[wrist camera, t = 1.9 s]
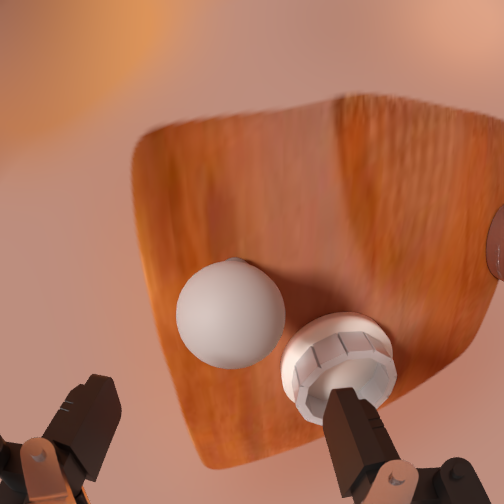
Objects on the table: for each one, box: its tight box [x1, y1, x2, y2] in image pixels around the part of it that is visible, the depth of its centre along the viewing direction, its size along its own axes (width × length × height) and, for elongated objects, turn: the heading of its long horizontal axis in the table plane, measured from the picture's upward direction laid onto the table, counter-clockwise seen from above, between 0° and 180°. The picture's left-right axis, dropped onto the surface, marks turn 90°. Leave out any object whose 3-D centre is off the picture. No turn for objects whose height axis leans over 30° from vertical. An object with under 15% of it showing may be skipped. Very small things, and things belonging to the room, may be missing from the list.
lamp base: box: [280, 312, 397, 426], centre depth 24 cm, size 11×11×5 cm
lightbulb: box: [176, 257, 286, 369], centre depth 18 cm, size 6×6×11 cm
